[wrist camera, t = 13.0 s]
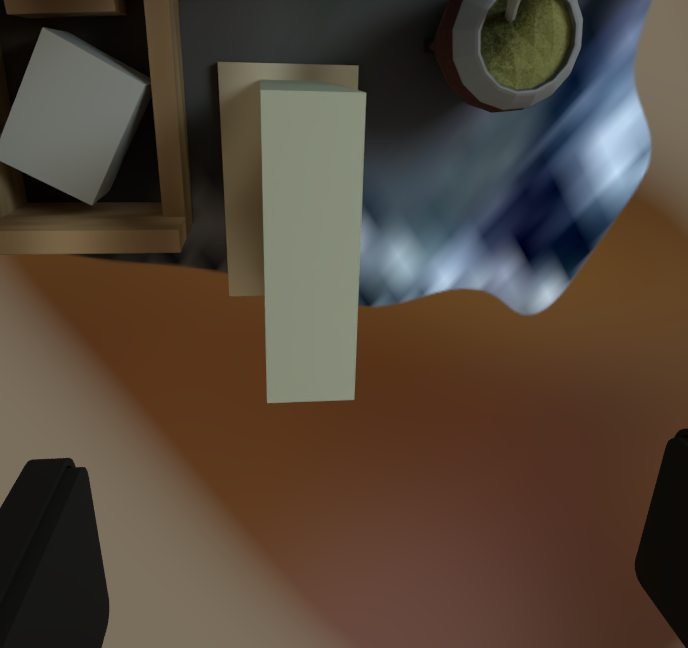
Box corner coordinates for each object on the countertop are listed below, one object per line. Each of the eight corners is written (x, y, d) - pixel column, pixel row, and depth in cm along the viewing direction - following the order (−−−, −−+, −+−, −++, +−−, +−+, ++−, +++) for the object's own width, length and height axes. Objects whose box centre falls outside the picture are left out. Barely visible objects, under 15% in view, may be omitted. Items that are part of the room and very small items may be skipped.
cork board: (357, 65, 36) (358, 65, 36) (350, 291, 42) (351, 294, 41) (218, 62, 35) (217, 61, 35) (229, 293, 41) (229, 296, 40)
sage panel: (322, 81, 36) (366, 92, 21) (319, 278, 41) (354, 399, 26) (259, 79, 36) (260, 90, 21) (264, 279, 40) (267, 402, 25)
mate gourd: (529, 100, 39) (679, 120, 25) (404, 111, 38) (487, 139, 24) (534, -38, 36) (708, -102, 22) (399, -28, 35) (490, -87, 21)
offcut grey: (158, 82, 36) (145, 84, 32) (110, 190, 38) (91, 205, 33) (68, 31, 34) (42, 27, 30) (23, 147, 36) (-8, 157, 32)
